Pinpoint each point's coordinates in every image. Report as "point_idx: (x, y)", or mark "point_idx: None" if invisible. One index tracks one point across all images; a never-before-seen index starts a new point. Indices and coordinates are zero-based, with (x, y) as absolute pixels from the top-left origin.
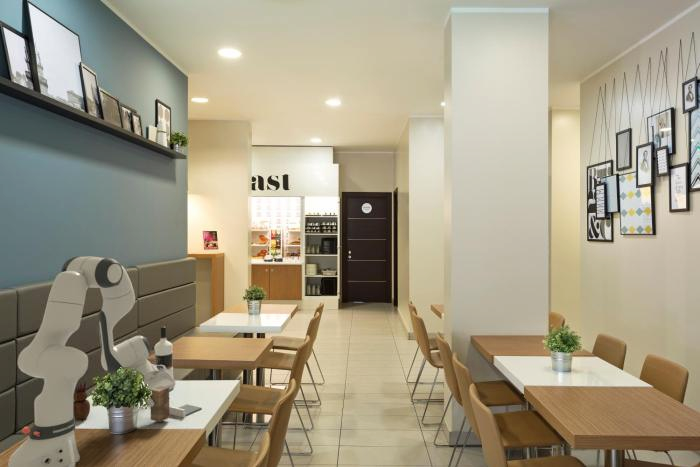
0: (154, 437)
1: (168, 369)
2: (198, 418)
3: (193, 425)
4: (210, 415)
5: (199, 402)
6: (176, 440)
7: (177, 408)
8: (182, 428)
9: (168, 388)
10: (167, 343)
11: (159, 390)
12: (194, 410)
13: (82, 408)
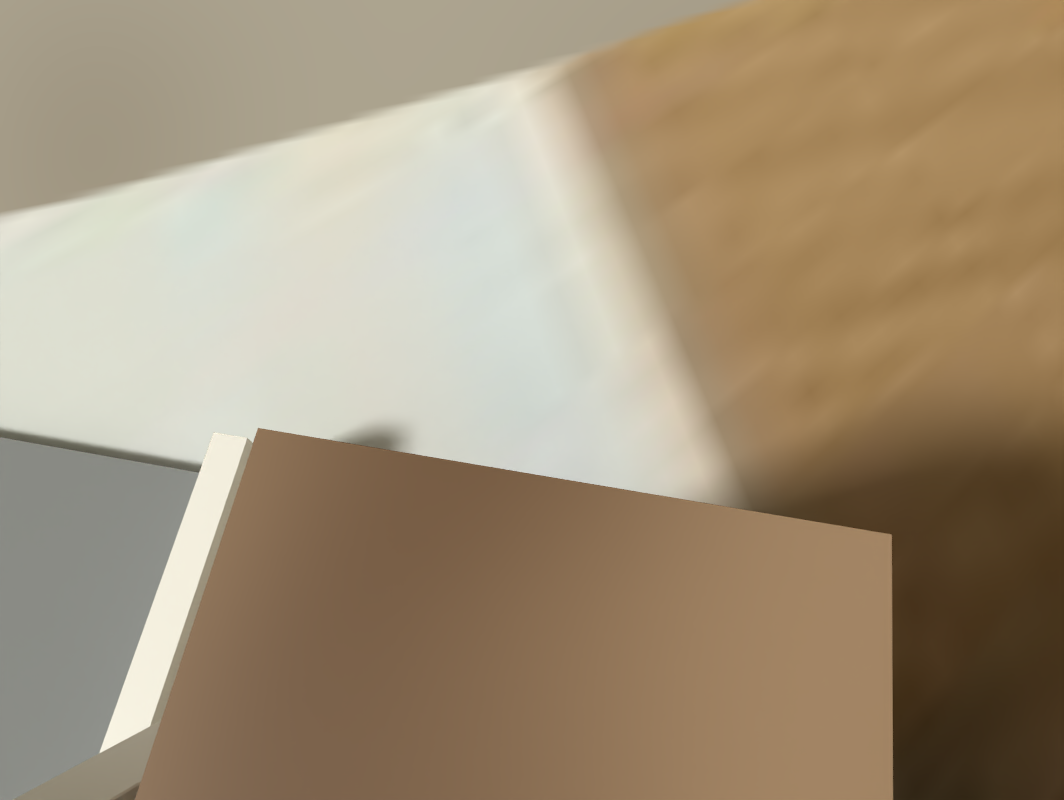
0: (1000, 401)
1: None
2: (278, 266)
3: (504, 195)
4: (154, 190)
5: None
6: (924, 126)
7: (173, 606)
8: (628, 258)
9: (307, 437)
10: None
11: (767, 612)
12: (26, 452)
13: None
